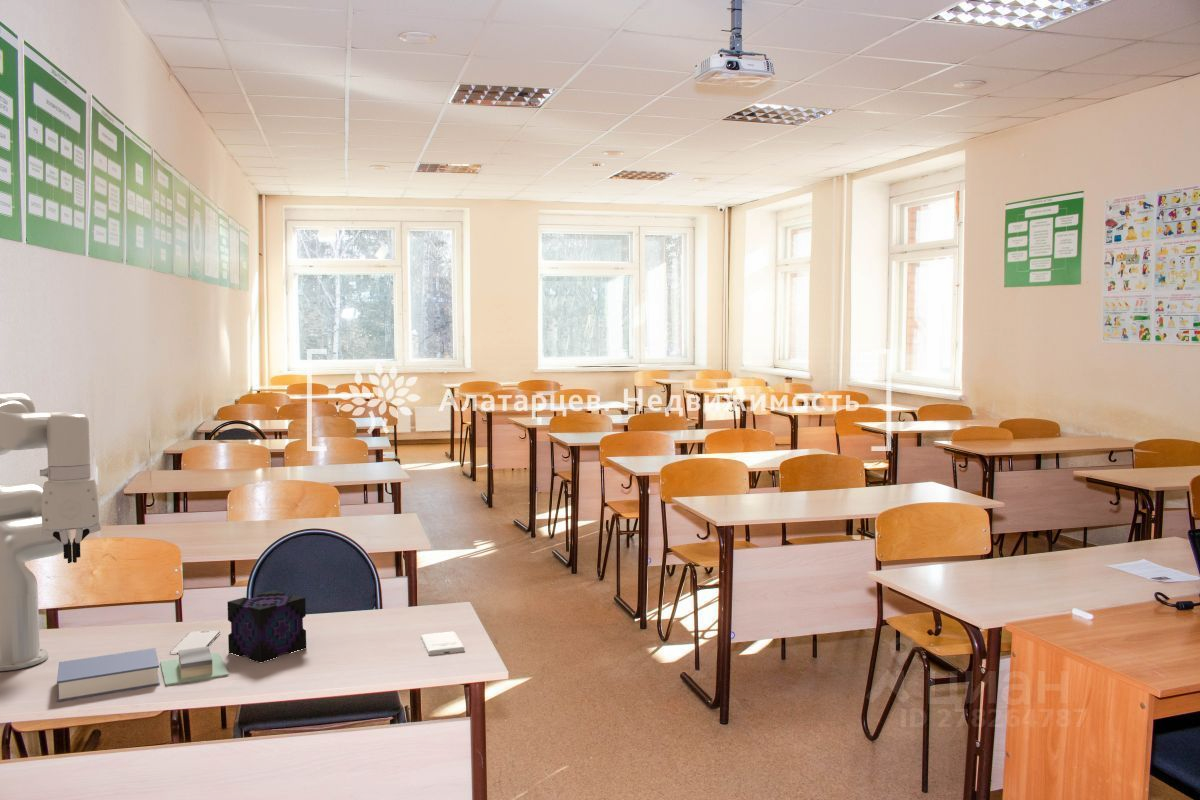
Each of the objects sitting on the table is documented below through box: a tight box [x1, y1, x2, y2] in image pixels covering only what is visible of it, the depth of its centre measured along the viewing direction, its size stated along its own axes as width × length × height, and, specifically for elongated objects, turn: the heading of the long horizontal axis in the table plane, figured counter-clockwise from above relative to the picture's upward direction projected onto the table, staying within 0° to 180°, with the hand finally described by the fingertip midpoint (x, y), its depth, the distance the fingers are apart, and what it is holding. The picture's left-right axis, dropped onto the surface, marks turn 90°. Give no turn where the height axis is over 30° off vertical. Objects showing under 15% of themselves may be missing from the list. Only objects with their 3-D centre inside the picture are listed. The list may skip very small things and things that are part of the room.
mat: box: [160, 652, 229, 687], centre depth 193 cm, size 16×12×1 cm
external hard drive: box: [420, 630, 465, 656], centre depth 209 cm, size 2×8×12 cm
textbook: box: [56, 647, 161, 702], centre depth 185 cm, size 13×18×4 cm
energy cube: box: [226, 589, 307, 663], centre depth 205 cm, size 12×12×12 cm
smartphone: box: [169, 630, 221, 654], centre depth 211 cm, size 7×1×15 cm
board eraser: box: [178, 645, 213, 678], centre depth 192 cm, size 10×6×3 cm, turn 28°
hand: (72, 561), depth 186 cm, fingers closed
